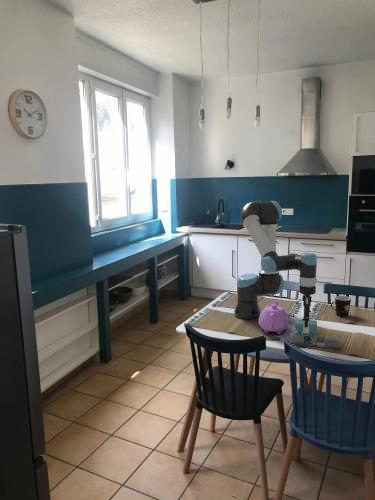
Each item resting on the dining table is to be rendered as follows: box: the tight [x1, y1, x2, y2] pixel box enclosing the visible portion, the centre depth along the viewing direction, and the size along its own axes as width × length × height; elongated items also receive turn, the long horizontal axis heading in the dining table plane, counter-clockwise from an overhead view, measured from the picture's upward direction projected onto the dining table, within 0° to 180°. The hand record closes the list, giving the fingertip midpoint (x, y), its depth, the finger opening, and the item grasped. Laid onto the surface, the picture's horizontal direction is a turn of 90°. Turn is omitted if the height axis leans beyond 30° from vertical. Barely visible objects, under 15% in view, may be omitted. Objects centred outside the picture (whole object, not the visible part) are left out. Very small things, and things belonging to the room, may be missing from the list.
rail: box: [289, 332, 341, 350], centre depth 181 cm, size 22×4×4 cm, turn 71°
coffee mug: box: [330, 295, 352, 318], centre depth 218 cm, size 12×9×10 cm
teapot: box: [258, 298, 290, 335], centre depth 200 cm, size 22×16×14 cm
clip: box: [294, 318, 318, 339], centre depth 190 cm, size 10×6×8 cm, turn 71°
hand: (306, 329), depth 189 cm, fingers open, 10 cm apart
